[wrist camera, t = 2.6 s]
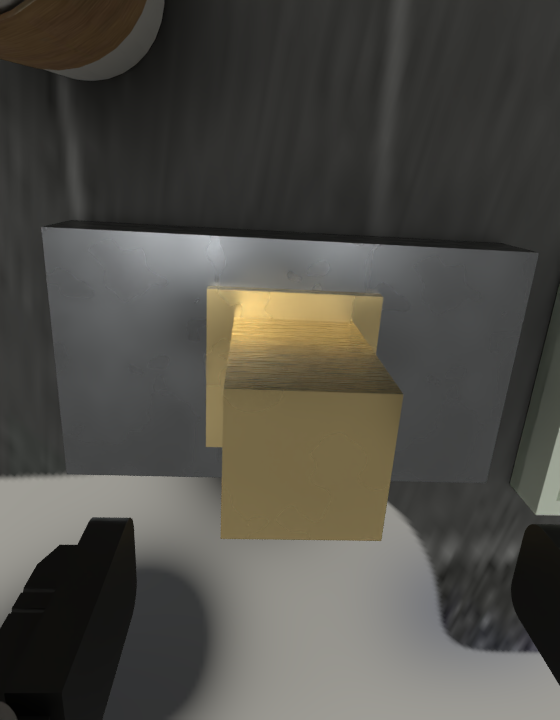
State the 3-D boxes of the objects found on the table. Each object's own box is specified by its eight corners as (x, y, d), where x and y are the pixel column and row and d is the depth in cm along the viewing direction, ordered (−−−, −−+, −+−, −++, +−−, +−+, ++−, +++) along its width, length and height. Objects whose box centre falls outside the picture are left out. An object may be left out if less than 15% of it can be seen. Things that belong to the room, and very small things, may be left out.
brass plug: (213, 272, 21) (180, 347, 11) (364, 279, 21) (450, 357, 12) (212, 410, 23) (183, 567, 14) (348, 414, 23) (411, 570, 14)
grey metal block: (71, 220, 20) (41, 226, 17) (501, 243, 21) (539, 252, 18) (89, 438, 23) (66, 474, 21) (459, 448, 25) (486, 483, 22)
